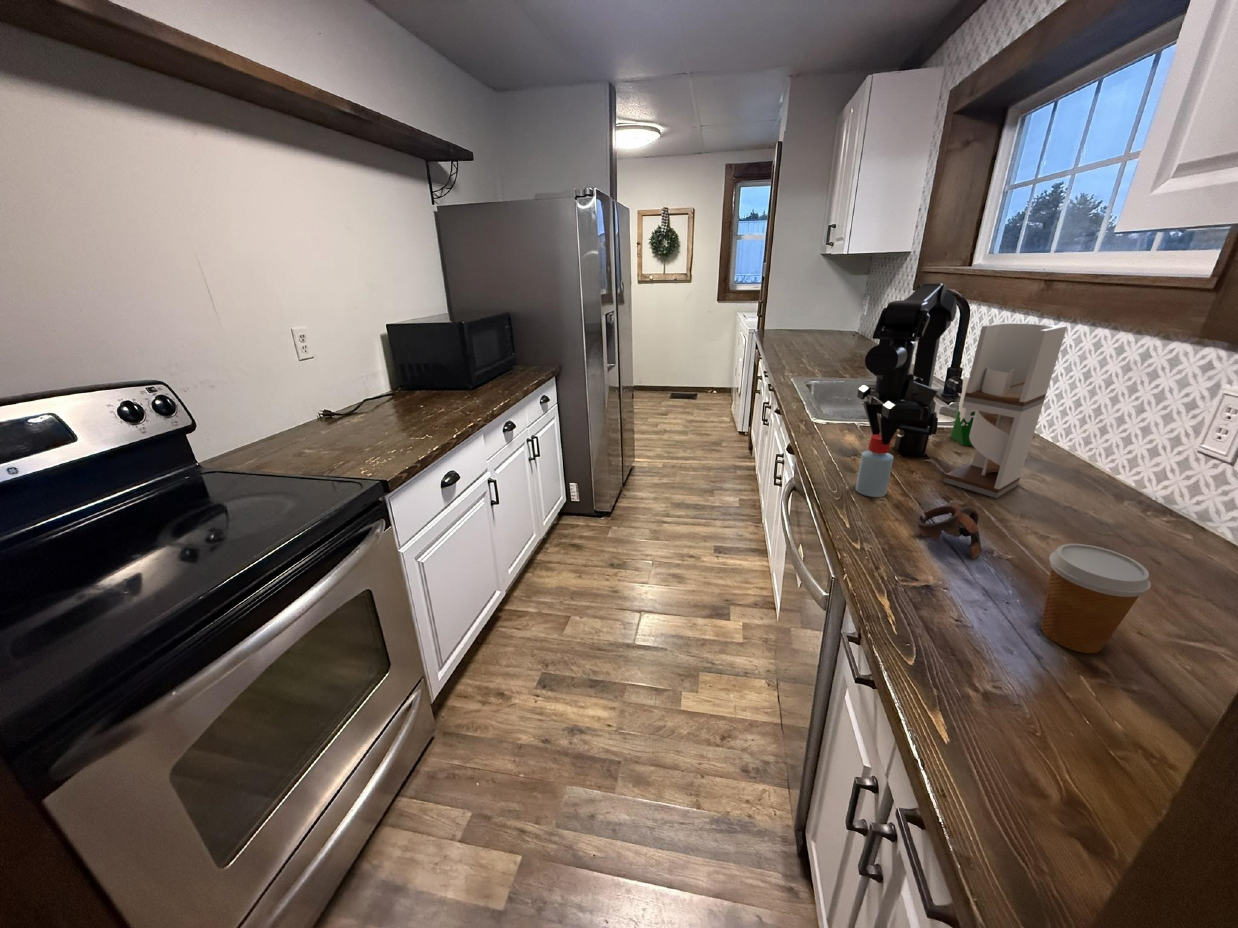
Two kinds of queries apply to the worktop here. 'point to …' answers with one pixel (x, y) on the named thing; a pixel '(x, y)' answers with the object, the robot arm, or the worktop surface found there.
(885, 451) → the cap
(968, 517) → the pottery mug
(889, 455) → the bottle
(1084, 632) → the disposable coffee cup
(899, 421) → the robot arm
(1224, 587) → the worktop surface
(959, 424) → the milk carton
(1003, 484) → the white tower frame
